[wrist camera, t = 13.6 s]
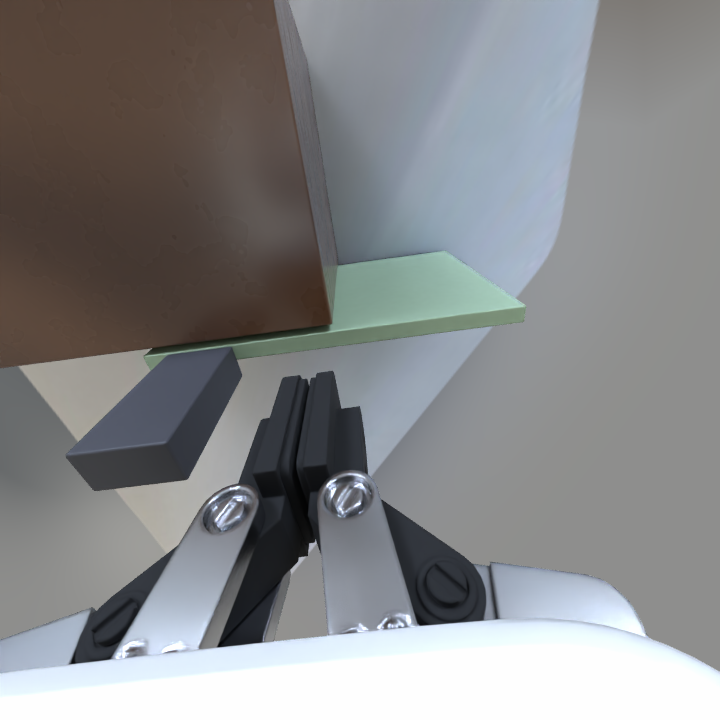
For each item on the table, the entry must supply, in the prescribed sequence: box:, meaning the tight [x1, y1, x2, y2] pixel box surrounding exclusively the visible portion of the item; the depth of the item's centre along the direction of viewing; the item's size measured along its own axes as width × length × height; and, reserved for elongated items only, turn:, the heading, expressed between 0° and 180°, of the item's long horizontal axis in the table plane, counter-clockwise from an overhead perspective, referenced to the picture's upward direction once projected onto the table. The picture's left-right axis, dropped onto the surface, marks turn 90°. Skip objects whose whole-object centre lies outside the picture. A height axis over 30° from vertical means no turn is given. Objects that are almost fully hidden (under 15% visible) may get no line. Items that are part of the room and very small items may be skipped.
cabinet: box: [0, 0, 467, 368], centre depth 17 cm, size 14×28×13 cm, turn 97°
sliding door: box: [66, 251, 526, 491], centre depth 17 cm, size 2×17×19 cm, turn 97°
